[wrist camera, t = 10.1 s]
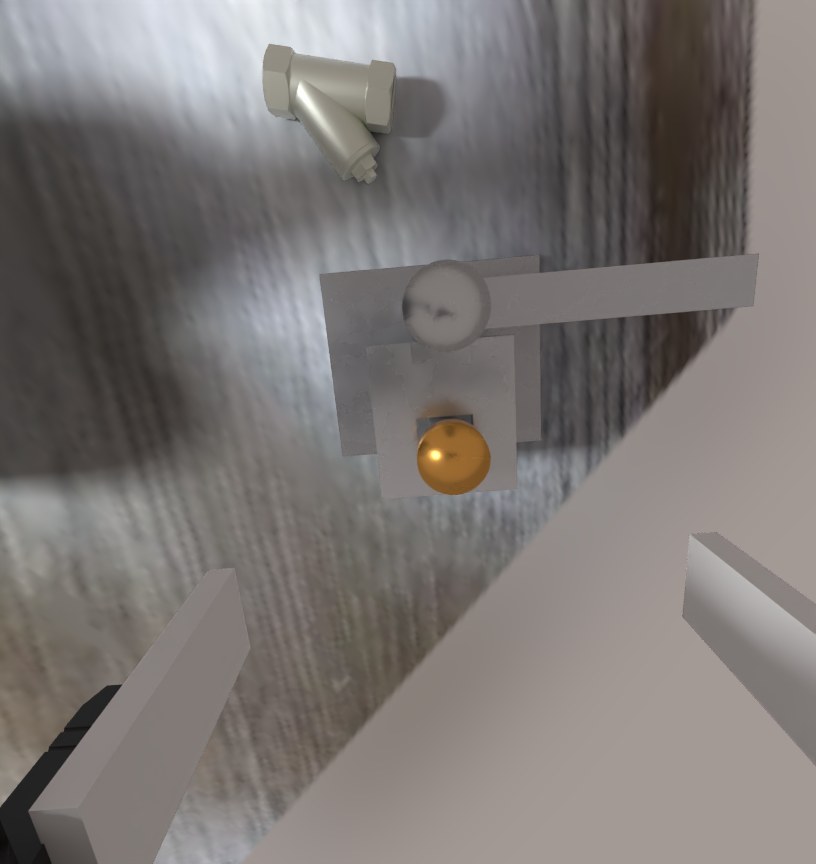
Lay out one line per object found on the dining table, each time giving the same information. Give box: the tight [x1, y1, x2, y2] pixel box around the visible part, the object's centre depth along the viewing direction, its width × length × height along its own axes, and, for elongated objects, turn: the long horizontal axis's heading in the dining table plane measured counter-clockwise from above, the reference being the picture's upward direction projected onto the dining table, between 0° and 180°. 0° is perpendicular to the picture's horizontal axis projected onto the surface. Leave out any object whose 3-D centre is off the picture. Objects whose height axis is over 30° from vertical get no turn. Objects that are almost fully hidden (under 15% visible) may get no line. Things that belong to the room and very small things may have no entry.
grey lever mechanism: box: [319, 254, 759, 499], centre depth 29 cm, size 23×15×15 cm, turn 95°
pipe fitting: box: [263, 44, 396, 184], centre depth 31 cm, size 8×4×7 cm
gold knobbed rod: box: [417, 415, 491, 495], centre depth 31 cm, size 4×4×10 cm
